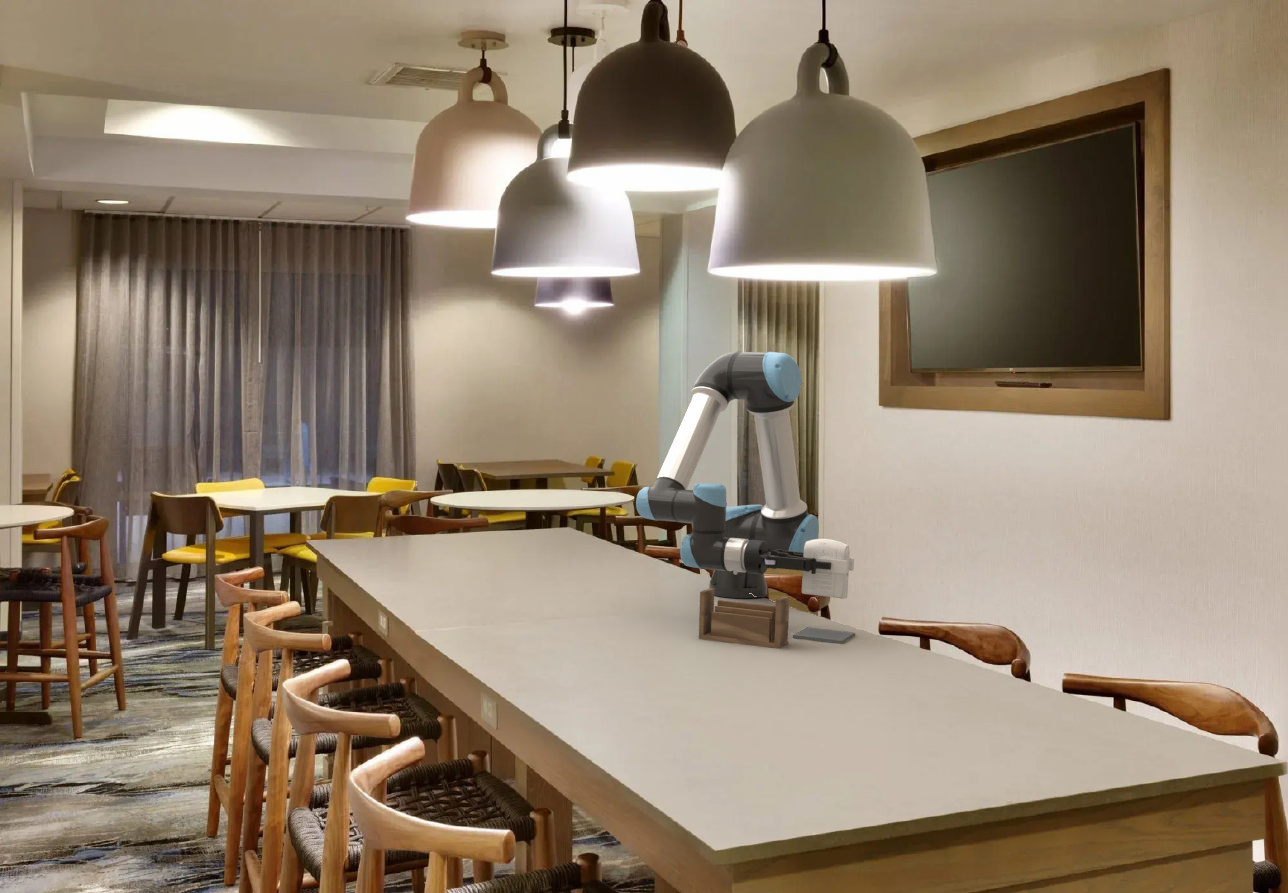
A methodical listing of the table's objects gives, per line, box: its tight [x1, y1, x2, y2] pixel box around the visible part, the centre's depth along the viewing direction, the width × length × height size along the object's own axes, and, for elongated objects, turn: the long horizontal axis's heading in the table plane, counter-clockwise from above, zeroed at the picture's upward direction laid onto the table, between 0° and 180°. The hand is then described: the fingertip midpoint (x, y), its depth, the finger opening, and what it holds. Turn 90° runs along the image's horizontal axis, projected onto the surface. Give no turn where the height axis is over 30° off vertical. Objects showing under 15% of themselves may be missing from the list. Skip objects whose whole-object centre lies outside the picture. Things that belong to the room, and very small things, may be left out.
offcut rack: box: [698, 587, 790, 649], centre depth 254 cm, size 6×18×10 cm, turn 64°
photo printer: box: [801, 538, 851, 600], centre depth 260 cm, size 10×4×12 cm, turn 62°
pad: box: [792, 626, 856, 644], centre depth 261 cm, size 10×11×1 cm
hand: (850, 565), depth 258 cm, fingers closed on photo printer, 4 cm apart
